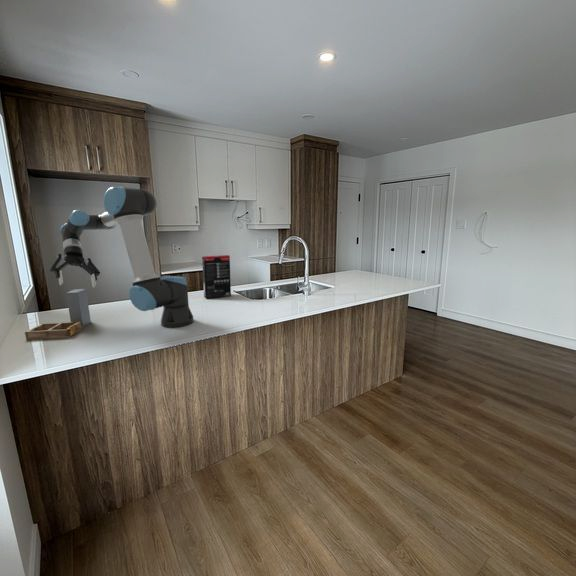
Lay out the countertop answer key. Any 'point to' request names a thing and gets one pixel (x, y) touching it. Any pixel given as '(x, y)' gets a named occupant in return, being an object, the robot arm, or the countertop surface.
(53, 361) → the countertop surface
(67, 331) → the divided wooden tray
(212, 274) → the graphics card box
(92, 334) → the countertop surface
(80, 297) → the block
